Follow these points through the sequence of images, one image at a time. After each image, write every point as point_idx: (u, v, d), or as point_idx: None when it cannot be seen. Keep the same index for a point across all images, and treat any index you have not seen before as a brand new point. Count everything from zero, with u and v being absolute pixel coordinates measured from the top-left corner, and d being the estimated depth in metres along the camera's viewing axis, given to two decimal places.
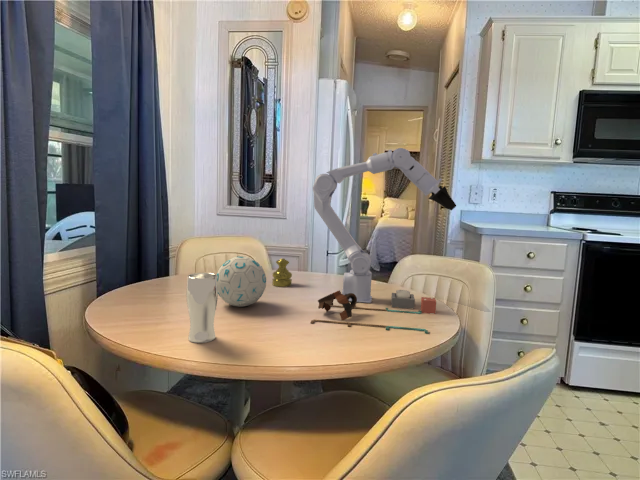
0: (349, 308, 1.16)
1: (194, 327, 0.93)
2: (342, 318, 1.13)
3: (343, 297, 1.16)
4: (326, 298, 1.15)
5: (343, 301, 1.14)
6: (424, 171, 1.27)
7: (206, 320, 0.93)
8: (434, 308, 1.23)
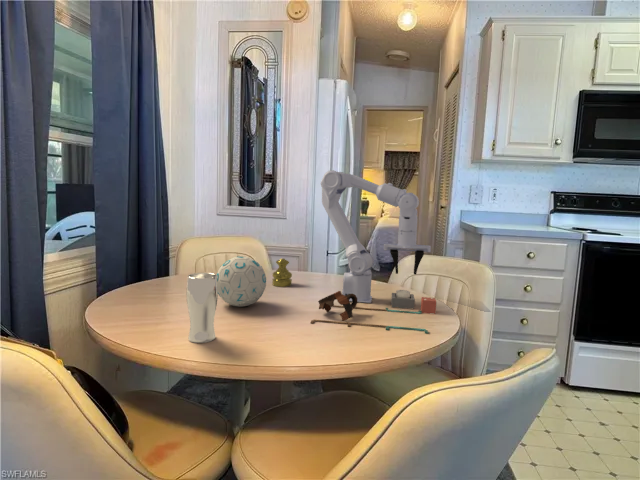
0: (350, 309, 1.15)
1: (194, 327, 0.93)
2: (343, 319, 1.13)
3: (344, 298, 1.15)
4: (327, 299, 1.14)
5: (344, 302, 1.14)
6: (413, 229, 1.26)
7: (206, 320, 0.93)
8: (434, 308, 1.23)
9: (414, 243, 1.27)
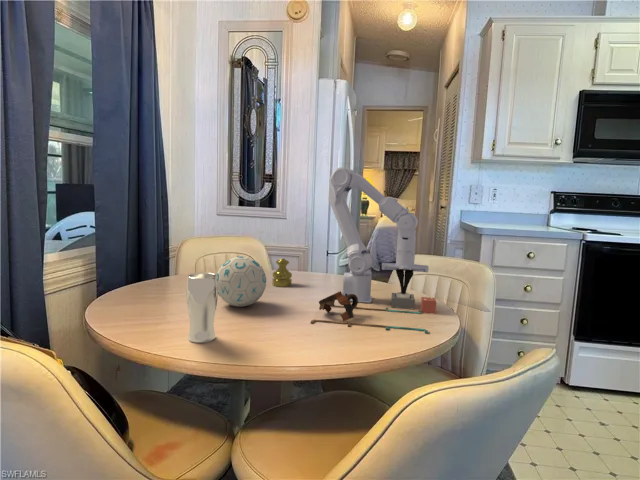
0: (350, 309, 1.15)
1: (194, 327, 0.93)
2: (343, 319, 1.12)
3: (344, 298, 1.15)
4: (327, 299, 1.14)
5: (344, 302, 1.13)
6: (411, 250, 1.27)
7: (206, 320, 0.93)
8: (434, 308, 1.23)
9: (412, 264, 1.28)
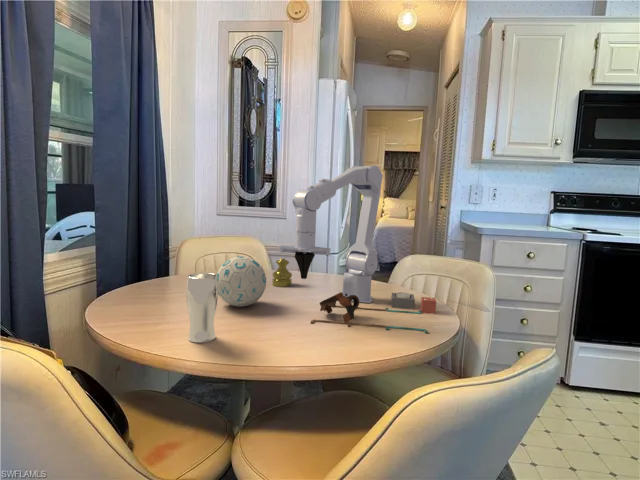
0: (352, 310, 1.14)
1: (194, 327, 0.93)
2: (345, 321, 1.11)
3: (346, 299, 1.13)
4: (328, 300, 1.12)
5: (346, 303, 1.12)
6: None
7: (206, 320, 0.93)
8: (434, 308, 1.23)
9: (311, 245, 1.16)
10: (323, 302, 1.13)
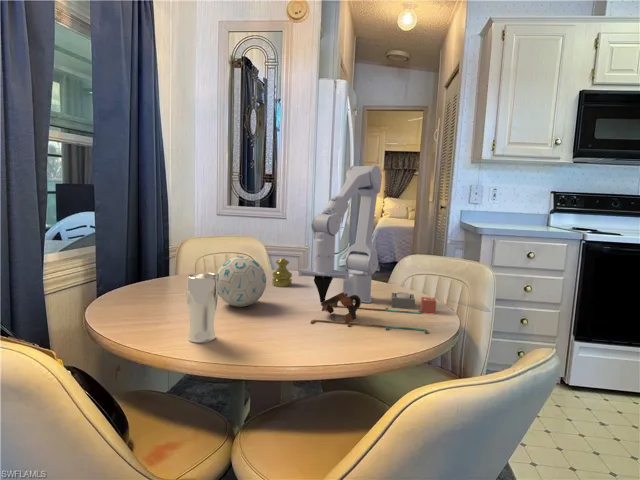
0: (353, 310, 1.13)
1: (194, 327, 0.93)
2: (347, 321, 1.11)
3: (347, 299, 1.13)
4: (330, 300, 1.12)
5: (347, 303, 1.12)
6: None
7: (206, 320, 0.93)
8: (434, 308, 1.23)
9: (330, 270, 1.16)
10: (325, 302, 1.13)
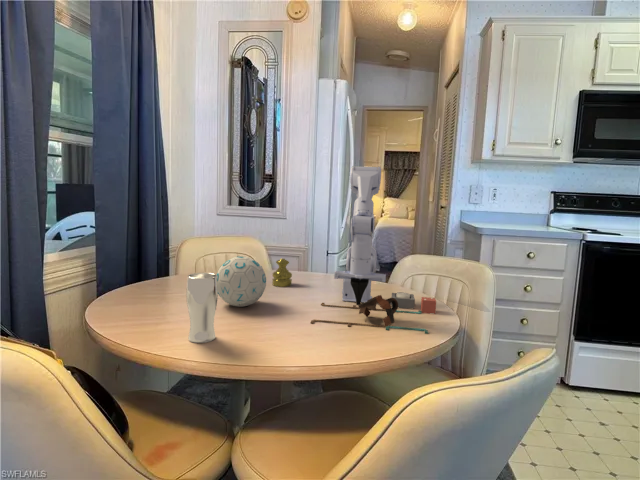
0: (392, 313, 1.12)
1: (194, 327, 0.93)
2: (385, 324, 1.09)
3: (385, 302, 1.11)
4: (368, 303, 1.11)
5: (386, 306, 1.10)
6: (353, 256, 1.14)
7: (206, 320, 0.93)
8: (434, 308, 1.23)
9: (367, 272, 1.14)
10: (363, 305, 1.11)
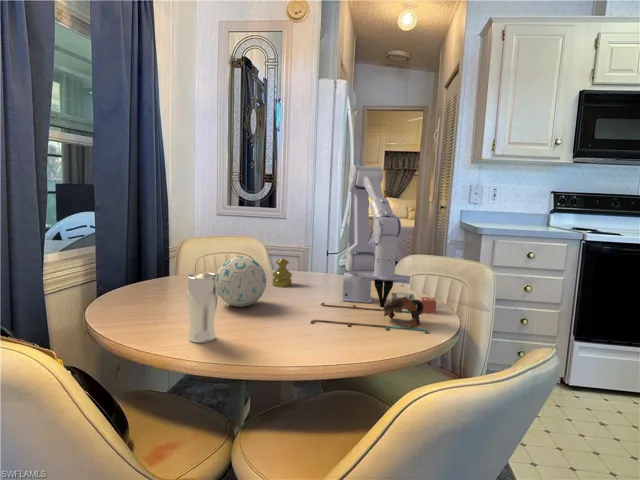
0: (417, 316, 1.11)
1: (194, 327, 0.93)
2: (412, 326, 1.08)
3: (411, 304, 1.10)
4: (394, 305, 1.10)
5: (412, 308, 1.09)
6: (380, 258, 1.12)
7: (206, 320, 0.93)
8: (434, 308, 1.23)
9: (392, 274, 1.13)
10: (388, 307, 1.10)
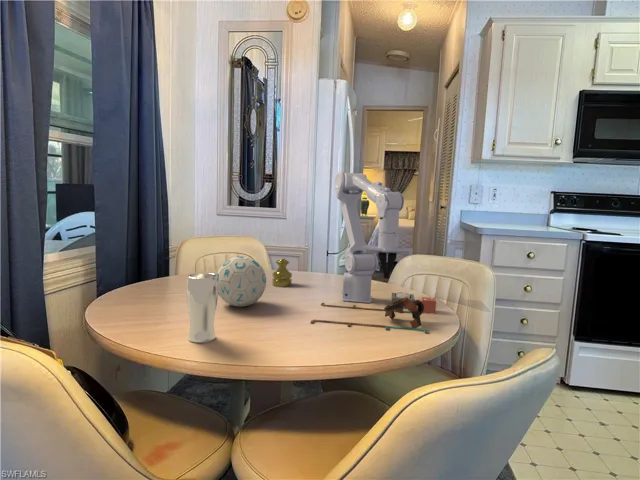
0: (418, 316, 1.11)
1: (194, 327, 0.93)
2: (413, 327, 1.08)
3: (412, 305, 1.10)
4: (395, 306, 1.09)
5: (413, 309, 1.09)
6: (386, 231, 1.18)
7: (206, 320, 0.93)
8: (434, 308, 1.23)
9: (395, 246, 1.19)
10: (389, 308, 1.10)
